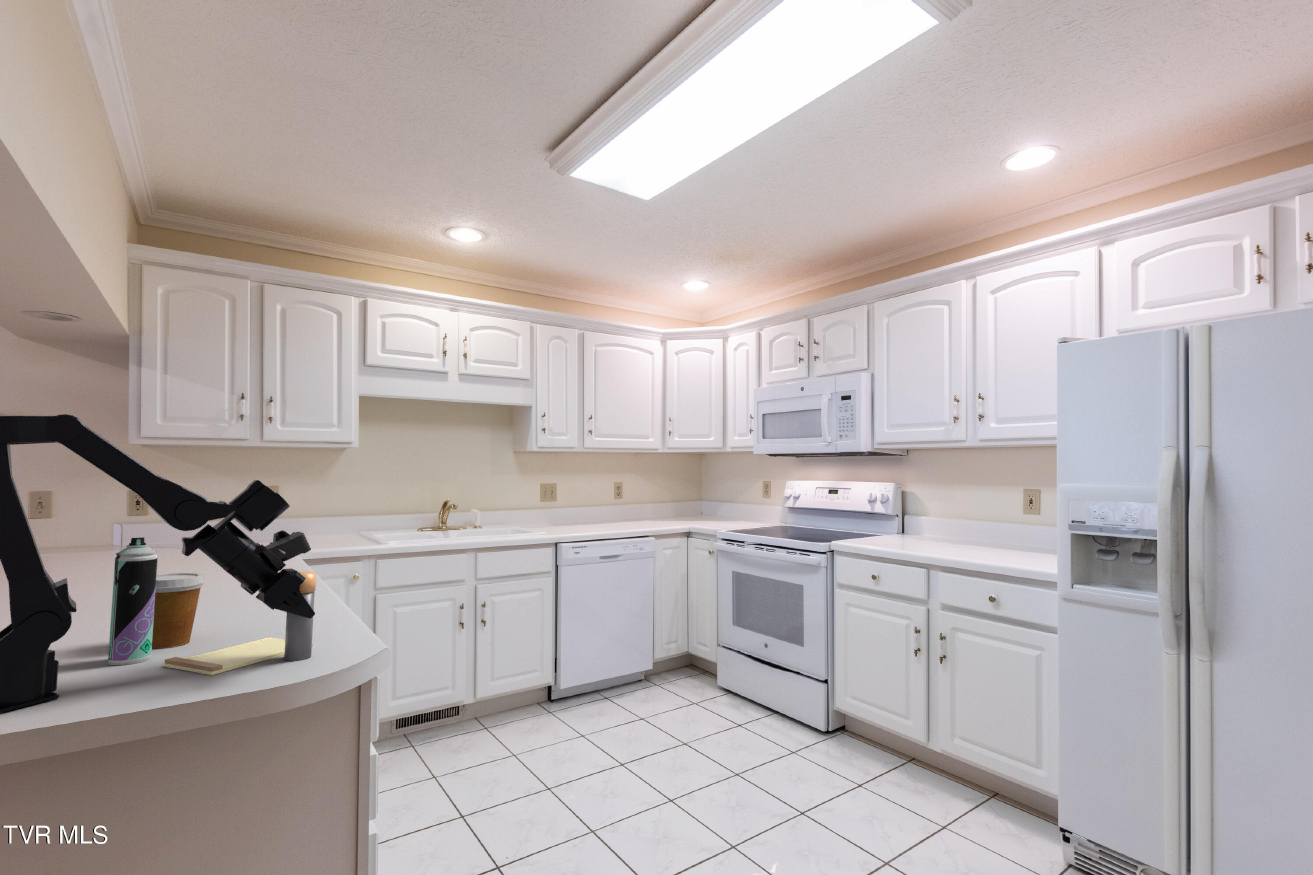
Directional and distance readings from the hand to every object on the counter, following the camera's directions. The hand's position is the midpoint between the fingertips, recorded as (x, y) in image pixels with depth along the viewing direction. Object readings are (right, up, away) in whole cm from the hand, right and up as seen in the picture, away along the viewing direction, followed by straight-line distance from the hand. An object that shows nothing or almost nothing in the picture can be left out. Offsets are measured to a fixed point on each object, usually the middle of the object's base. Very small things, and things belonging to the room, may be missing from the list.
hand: (309, 613), depth 109 cm
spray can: (-27, -7, -5) cm, 28 cm away
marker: (-1, -7, -1) cm, 7 cm away
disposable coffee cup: (-28, -7, +6) cm, 30 cm away
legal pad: (-11, -7, -1) cm, 13 cm away
